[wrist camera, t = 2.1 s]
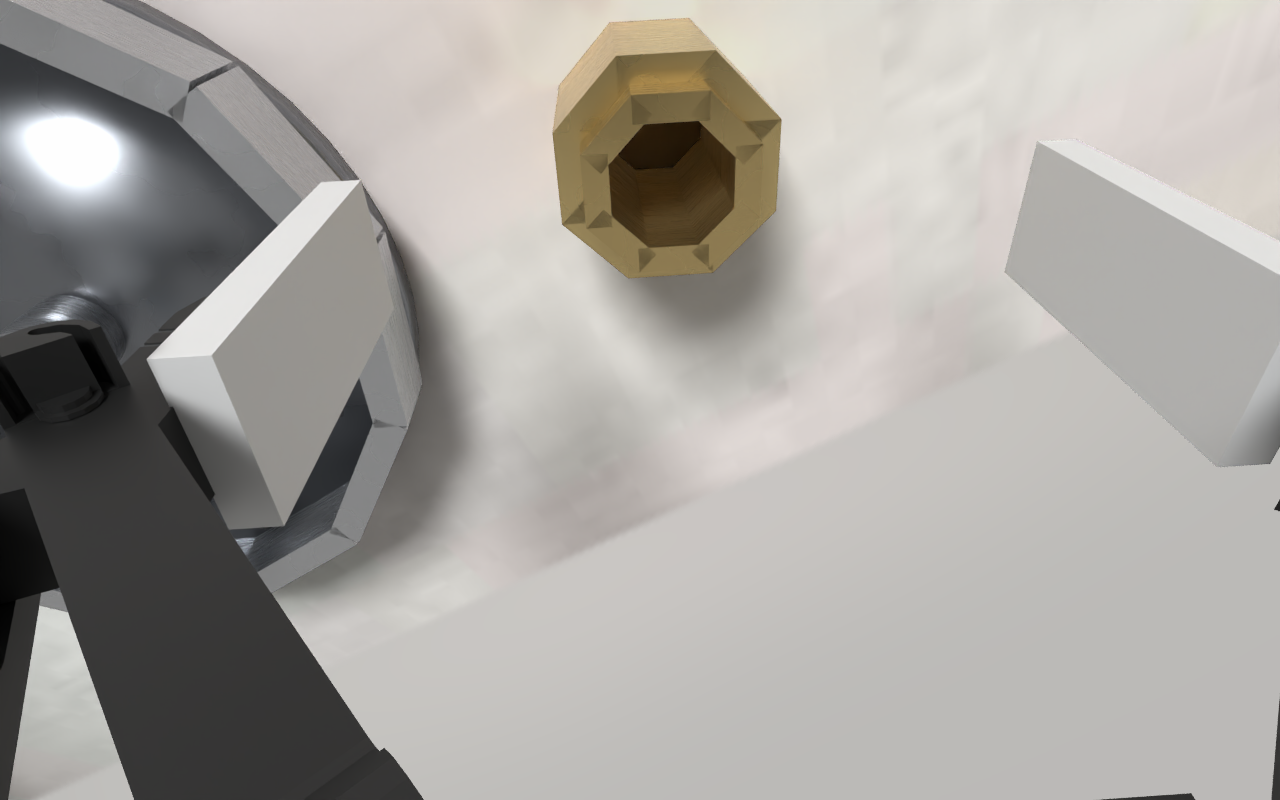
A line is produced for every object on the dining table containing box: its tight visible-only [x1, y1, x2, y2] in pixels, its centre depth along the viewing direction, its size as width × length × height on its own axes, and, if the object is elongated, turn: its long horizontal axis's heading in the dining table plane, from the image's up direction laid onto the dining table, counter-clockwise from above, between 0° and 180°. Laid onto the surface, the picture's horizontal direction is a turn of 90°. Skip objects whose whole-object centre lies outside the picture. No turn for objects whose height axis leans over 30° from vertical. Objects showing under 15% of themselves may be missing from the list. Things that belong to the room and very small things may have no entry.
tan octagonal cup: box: [553, 18, 781, 278], centre depth 19 cm, size 5×5×6 cm
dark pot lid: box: [0, 0, 422, 612], centre depth 22 cm, size 20×20×4 cm
